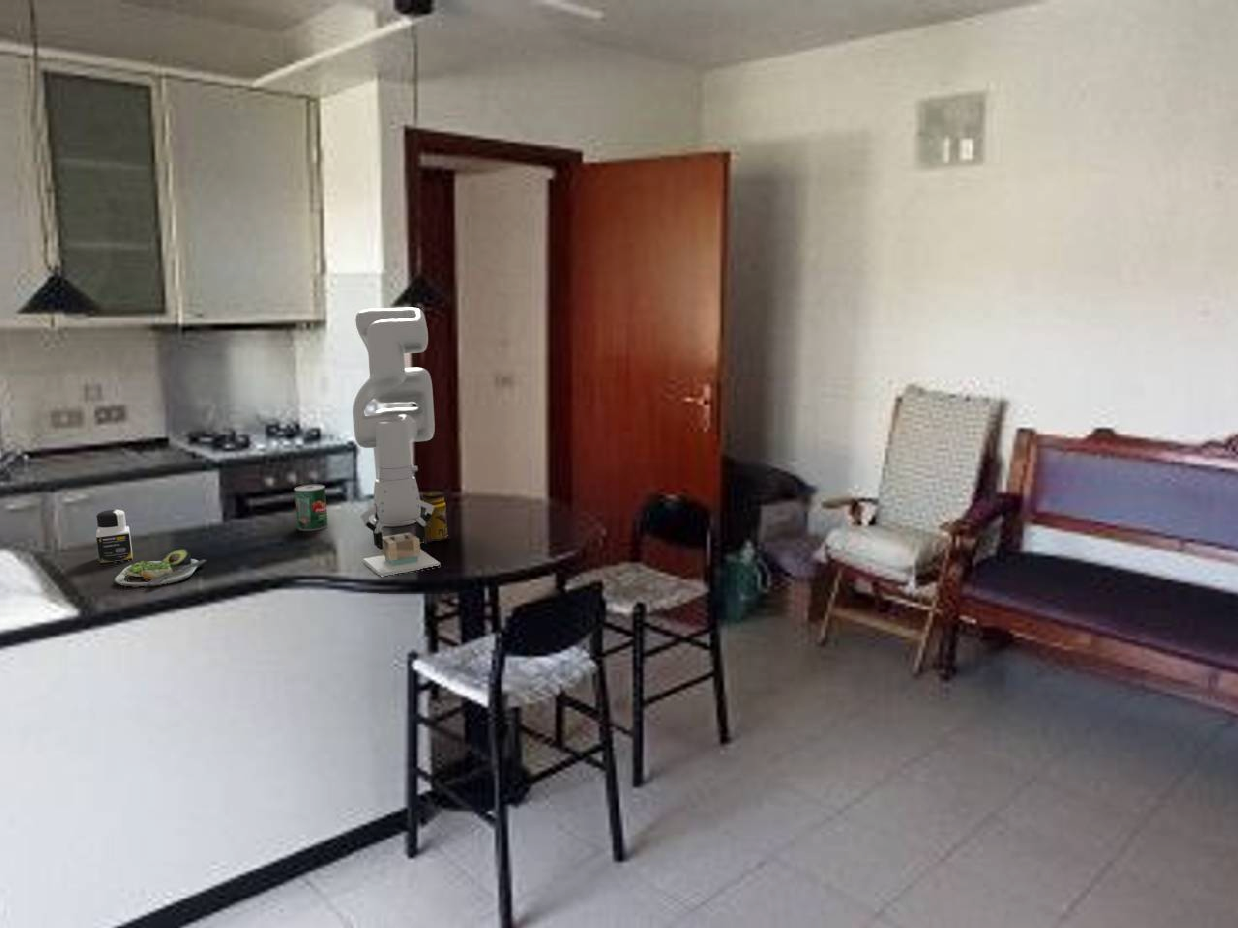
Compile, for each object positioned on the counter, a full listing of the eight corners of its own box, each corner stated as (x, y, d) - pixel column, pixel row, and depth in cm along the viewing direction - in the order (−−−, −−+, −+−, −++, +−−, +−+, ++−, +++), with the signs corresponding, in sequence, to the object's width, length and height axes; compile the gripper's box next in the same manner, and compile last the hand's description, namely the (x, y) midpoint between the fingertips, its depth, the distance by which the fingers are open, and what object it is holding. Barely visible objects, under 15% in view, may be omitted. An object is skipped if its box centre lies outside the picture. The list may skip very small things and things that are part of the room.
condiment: (453, 539, 242) (450, 493, 239) (422, 544, 237) (419, 498, 235) (442, 533, 248) (439, 488, 245) (411, 538, 243) (408, 493, 241)
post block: (363, 562, 223) (361, 534, 221) (420, 552, 230) (418, 525, 228) (381, 577, 211) (378, 547, 209) (440, 566, 218) (438, 537, 216)
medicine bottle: (99, 564, 226) (92, 516, 224) (100, 557, 232) (93, 510, 230) (132, 560, 229) (126, 512, 227) (132, 553, 235) (126, 506, 233)
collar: (381, 553, 221) (380, 537, 220) (410, 548, 224) (409, 532, 224) (390, 560, 215) (389, 543, 214) (420, 555, 218) (419, 538, 218)
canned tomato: (327, 529, 254) (323, 489, 252) (296, 531, 252) (292, 491, 250) (328, 522, 262) (325, 483, 260) (299, 524, 260) (295, 485, 258)
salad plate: (190, 588, 207) (188, 568, 207) (103, 595, 204) (100, 575, 203) (210, 563, 226) (208, 545, 225) (130, 569, 223) (128, 550, 222)
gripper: (425, 466, 223) (430, 535, 227) (353, 475, 215) (358, 547, 218) (436, 471, 217) (441, 542, 220) (362, 480, 208) (368, 554, 212)
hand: (400, 544), depth 219 cm, fingers open, 9 cm apart
